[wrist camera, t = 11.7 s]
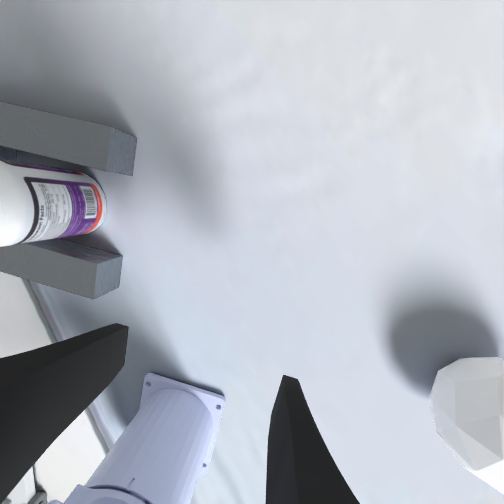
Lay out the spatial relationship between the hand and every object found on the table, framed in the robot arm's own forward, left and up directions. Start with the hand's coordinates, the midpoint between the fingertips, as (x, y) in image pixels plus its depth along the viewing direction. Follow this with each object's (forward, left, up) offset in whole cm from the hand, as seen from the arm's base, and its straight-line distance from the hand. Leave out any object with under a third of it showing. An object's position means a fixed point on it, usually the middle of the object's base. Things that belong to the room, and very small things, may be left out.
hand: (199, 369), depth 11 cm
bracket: (+4, +18, -10) cm, 21 cm away
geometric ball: (-2, -19, -11) cm, 22 cm away
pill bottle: (+4, +16, -11) cm, 19 cm away
